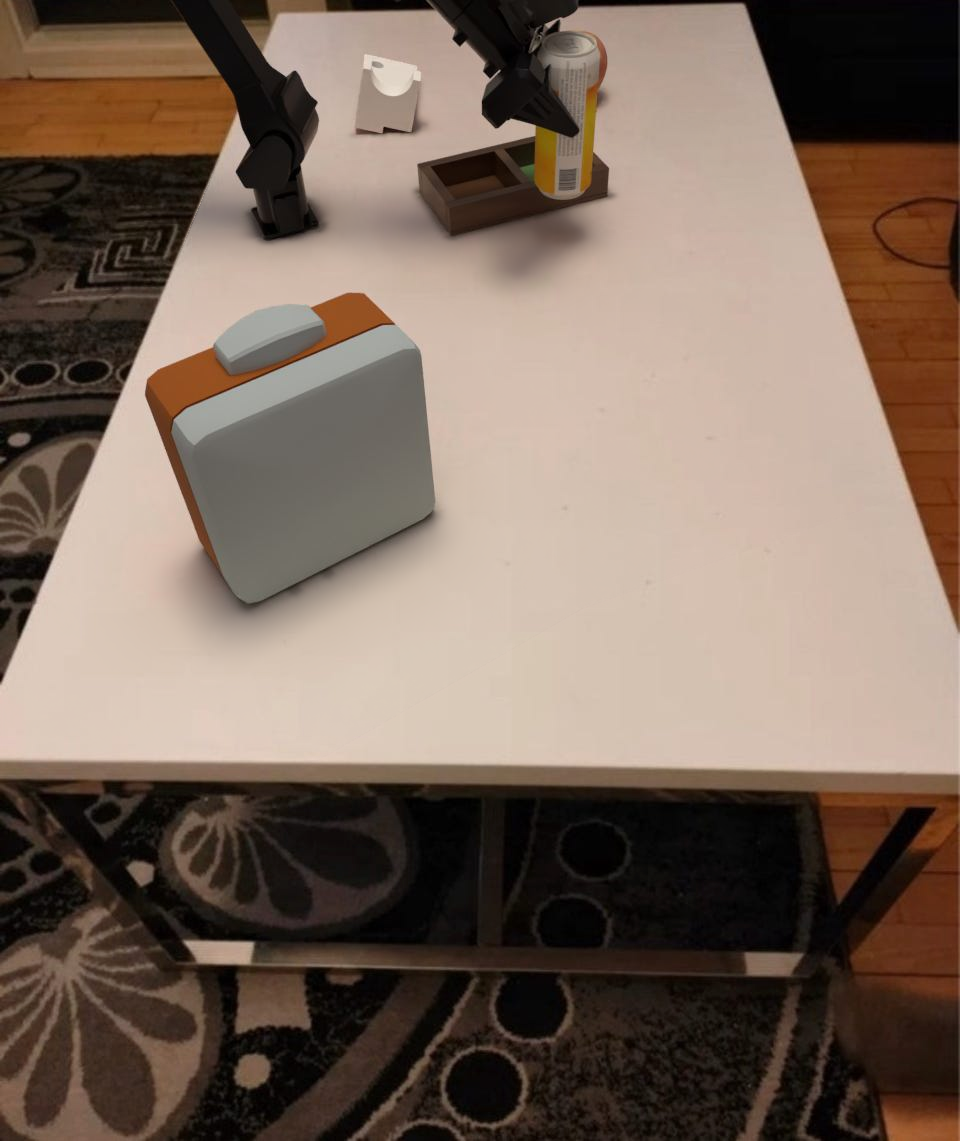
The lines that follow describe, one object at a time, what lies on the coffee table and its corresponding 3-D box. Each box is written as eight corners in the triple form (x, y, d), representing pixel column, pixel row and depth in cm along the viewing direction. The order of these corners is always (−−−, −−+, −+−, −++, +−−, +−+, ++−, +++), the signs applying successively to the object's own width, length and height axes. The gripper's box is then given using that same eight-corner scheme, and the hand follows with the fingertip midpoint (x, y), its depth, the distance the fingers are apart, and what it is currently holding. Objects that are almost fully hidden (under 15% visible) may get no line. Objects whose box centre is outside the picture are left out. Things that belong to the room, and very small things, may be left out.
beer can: (580, 169, 111) (589, 25, 99) (598, 197, 107) (609, 52, 96) (527, 177, 110) (530, 33, 99) (543, 206, 106) (547, 60, 95)
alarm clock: (388, 456, 91) (360, 257, 75) (440, 514, 86) (422, 315, 71) (199, 545, 85) (125, 349, 69) (244, 613, 80) (175, 420, 64)
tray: (419, 191, 120) (417, 163, 117) (568, 155, 124) (570, 127, 121) (451, 236, 114) (449, 207, 111) (607, 196, 118) (609, 167, 115)
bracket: (409, 139, 130) (420, 81, 124) (354, 127, 128) (363, 68, 123) (412, 91, 138) (422, 35, 132) (360, 80, 136) (369, 22, 131)
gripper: (517, -27, 84) (637, 110, 92) (540, -104, 96) (644, 22, 104) (430, 65, 91) (547, 186, 99) (461, -18, 103) (564, 96, 110)
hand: (578, 118), depth 103 cm, fingers closed on beer can, 6 cm apart
